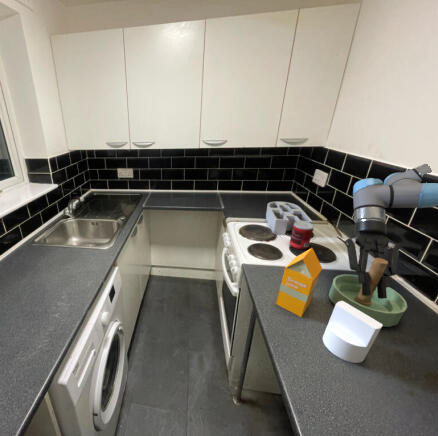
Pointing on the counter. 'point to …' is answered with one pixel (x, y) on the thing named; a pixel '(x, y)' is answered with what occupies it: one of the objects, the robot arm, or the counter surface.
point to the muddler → (372, 281)
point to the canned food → (301, 235)
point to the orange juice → (299, 282)
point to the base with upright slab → (350, 333)
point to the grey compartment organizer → (284, 216)
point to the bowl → (380, 308)
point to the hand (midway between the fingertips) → (374, 296)
